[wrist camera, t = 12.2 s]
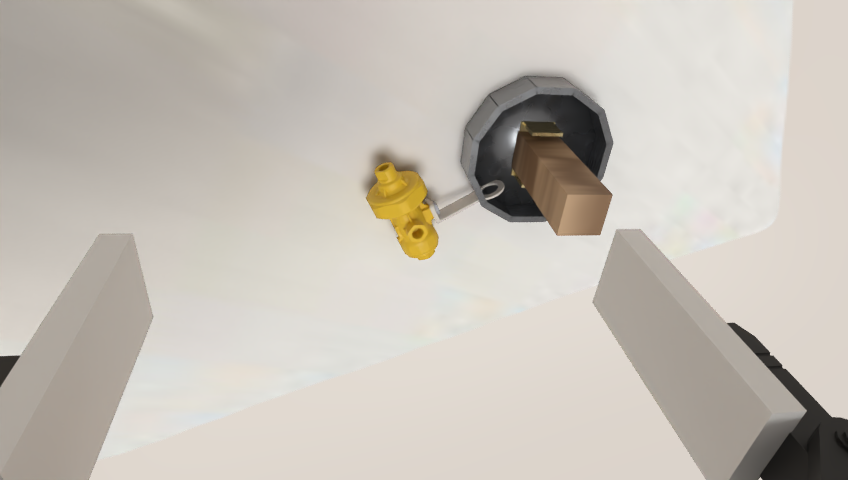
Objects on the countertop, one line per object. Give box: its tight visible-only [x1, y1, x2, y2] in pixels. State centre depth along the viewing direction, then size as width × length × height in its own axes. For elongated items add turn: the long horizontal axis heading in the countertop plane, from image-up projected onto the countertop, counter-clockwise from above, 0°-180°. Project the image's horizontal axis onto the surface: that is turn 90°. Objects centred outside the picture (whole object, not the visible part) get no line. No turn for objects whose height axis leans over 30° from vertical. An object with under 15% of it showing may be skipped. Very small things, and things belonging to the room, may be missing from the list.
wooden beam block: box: [511, 131, 612, 236], centre depth 45 cm, size 4×4×12 cm
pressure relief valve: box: [366, 162, 504, 260], centre depth 49 cm, size 6×12×10 cm
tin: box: [461, 76, 613, 222], centre depth 49 cm, size 13×13×3 cm
